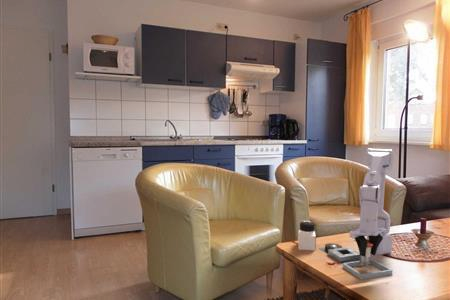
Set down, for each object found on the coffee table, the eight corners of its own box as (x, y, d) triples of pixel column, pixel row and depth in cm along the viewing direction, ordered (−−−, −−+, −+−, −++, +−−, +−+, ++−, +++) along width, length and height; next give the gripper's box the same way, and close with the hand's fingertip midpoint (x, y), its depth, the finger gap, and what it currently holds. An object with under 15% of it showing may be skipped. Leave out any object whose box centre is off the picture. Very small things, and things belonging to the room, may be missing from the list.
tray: (371, 265, 129) (372, 258, 129) (392, 276, 119) (392, 270, 119) (342, 269, 125) (342, 263, 125) (361, 282, 116) (361, 275, 115)
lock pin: (364, 260, 126) (368, 238, 124) (372, 266, 122) (376, 243, 120) (355, 261, 125) (359, 239, 123) (363, 267, 121) (366, 244, 119)
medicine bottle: (315, 252, 141) (316, 225, 140) (298, 251, 143) (298, 224, 142) (314, 246, 148) (315, 220, 147) (298, 245, 150) (298, 219, 149)
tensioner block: (338, 247, 147) (338, 241, 146) (363, 262, 131) (363, 255, 131) (318, 250, 144) (318, 243, 144) (341, 265, 129) (341, 258, 128)
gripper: (359, 223, 115) (358, 261, 116) (393, 219, 119) (392, 256, 120) (346, 217, 121) (345, 254, 123) (379, 214, 126) (377, 249, 127)
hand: (367, 254), depth 122 cm, fingers closed on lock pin, 4 cm apart
